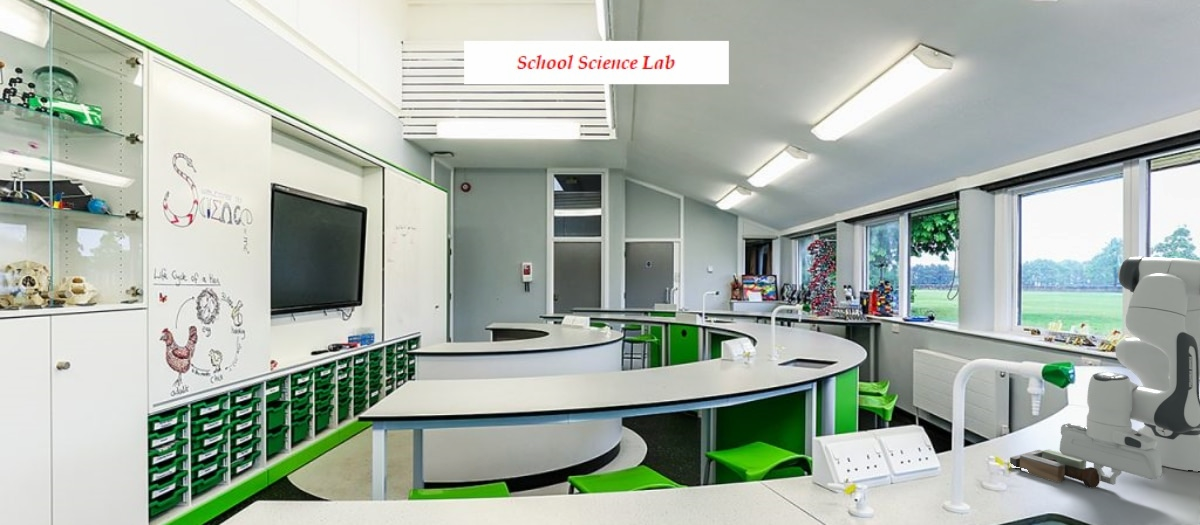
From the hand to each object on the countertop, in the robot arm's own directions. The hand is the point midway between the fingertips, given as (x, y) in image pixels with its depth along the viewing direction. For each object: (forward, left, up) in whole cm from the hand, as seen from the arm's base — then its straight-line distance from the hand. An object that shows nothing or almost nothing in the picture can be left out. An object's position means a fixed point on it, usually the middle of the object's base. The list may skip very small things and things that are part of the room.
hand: (1107, 482), depth 140 cm
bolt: (+1, -9, -2) cm, 10 cm away
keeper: (0, -13, -2) cm, 13 cm away
